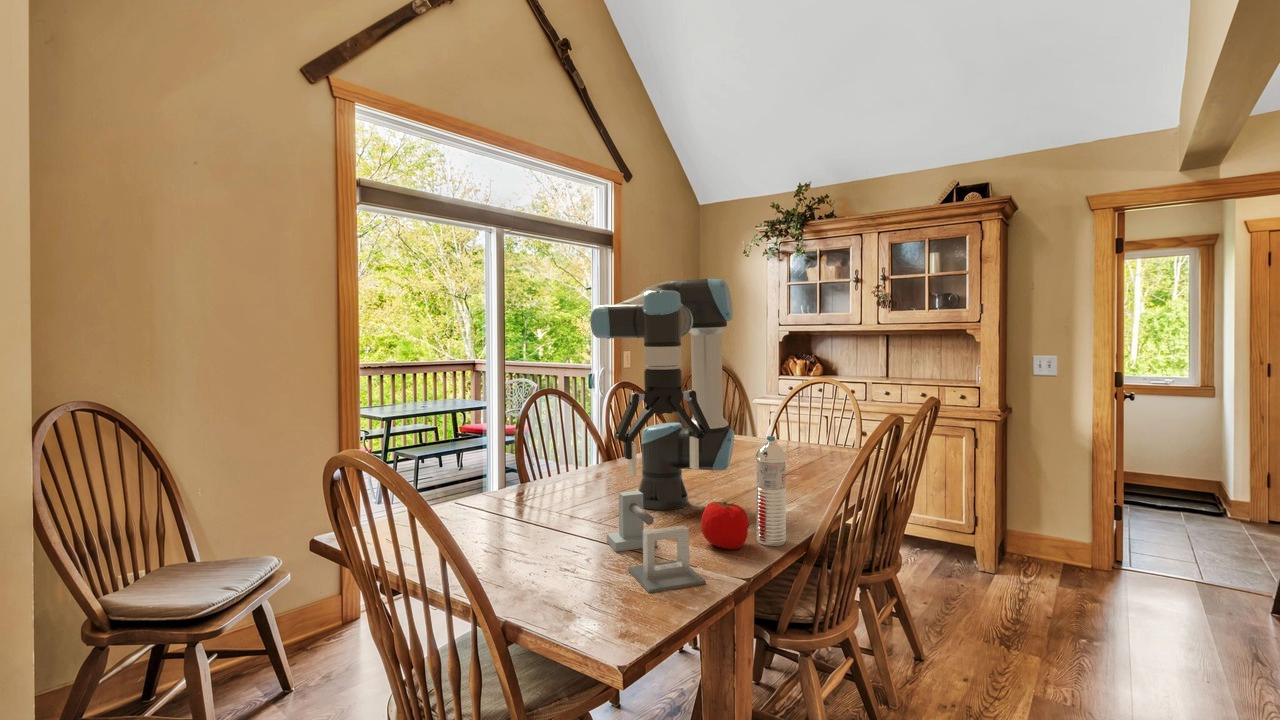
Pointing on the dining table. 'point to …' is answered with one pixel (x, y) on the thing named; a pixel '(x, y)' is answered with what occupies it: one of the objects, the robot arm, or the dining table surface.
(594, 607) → the dining table surface
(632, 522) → the stand
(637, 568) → the coaster
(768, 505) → the water bottle
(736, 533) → the tomato
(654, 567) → the square ring
